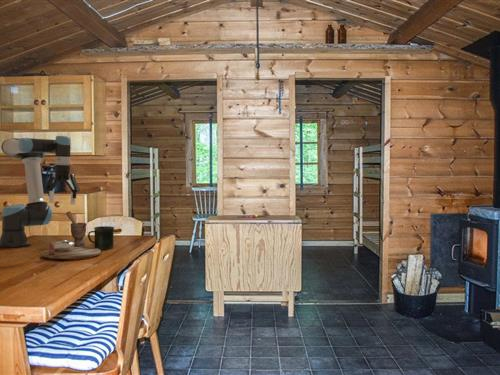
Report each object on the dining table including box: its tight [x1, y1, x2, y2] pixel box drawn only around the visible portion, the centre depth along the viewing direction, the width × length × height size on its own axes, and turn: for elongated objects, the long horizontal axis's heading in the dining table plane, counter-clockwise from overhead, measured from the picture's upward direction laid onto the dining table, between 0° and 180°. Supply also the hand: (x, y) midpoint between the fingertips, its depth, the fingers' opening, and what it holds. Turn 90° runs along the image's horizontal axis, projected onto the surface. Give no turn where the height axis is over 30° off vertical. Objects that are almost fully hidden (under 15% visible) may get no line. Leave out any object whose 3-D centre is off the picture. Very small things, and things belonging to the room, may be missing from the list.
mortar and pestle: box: [65, 211, 87, 247], centre depth 264 cm, size 12×9×20 cm
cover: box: [53, 239, 75, 252], centre depth 237 cm, size 10×10×5 cm
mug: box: [87, 225, 115, 250], centre depth 256 cm, size 11×15×12 cm
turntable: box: [42, 242, 102, 260], centre depth 233 cm, size 28×28×7 cm
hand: (62, 203), depth 243 cm, fingers open, 13 cm apart
